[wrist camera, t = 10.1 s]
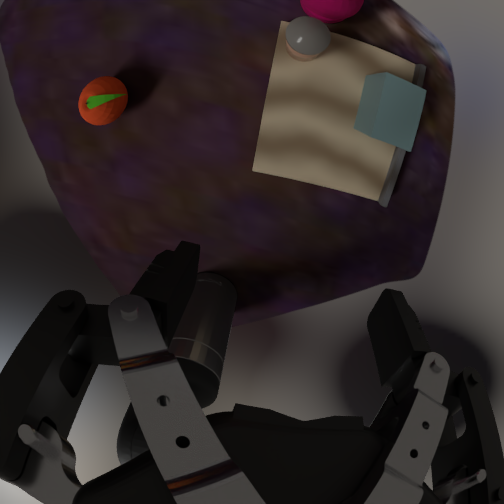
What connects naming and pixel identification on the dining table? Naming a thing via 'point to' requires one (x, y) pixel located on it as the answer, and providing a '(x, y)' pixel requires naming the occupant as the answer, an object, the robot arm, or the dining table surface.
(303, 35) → the spice jar
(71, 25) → the dining table surface
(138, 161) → the dining table surface
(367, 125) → the tea box
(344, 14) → the pepper mill
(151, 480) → the robot arm
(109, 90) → the clementine
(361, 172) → the shelf board
